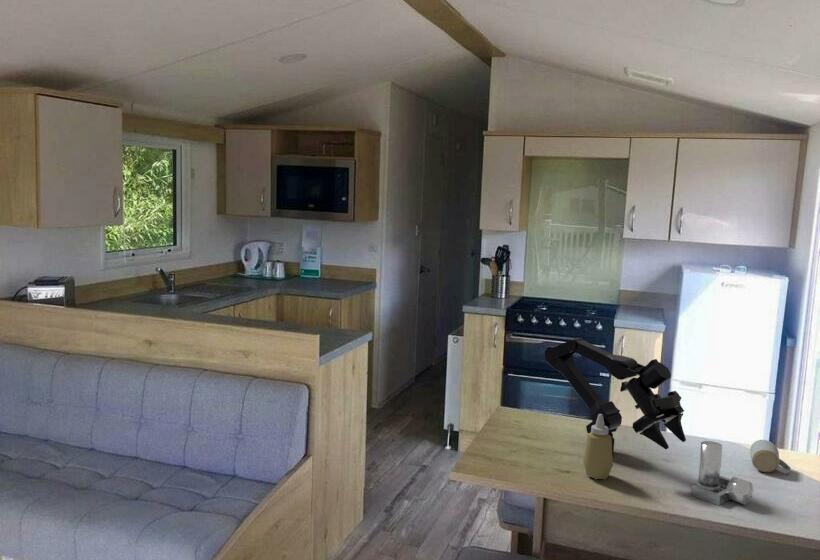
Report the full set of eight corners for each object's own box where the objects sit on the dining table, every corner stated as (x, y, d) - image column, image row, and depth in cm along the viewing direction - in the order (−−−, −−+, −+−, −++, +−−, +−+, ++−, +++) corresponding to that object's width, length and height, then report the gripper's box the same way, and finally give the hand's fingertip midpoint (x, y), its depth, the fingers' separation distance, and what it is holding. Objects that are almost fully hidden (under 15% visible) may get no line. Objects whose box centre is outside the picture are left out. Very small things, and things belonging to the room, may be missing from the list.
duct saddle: (690, 494, 180) (692, 473, 180) (714, 482, 189) (716, 462, 188) (734, 511, 172) (736, 488, 171) (757, 497, 180) (759, 476, 179)
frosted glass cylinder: (700, 494, 181) (704, 447, 179) (693, 485, 187) (696, 440, 185) (723, 495, 180) (727, 448, 179) (714, 486, 186) (718, 441, 185)
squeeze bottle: (596, 484, 186) (599, 421, 184) (576, 473, 193) (579, 412, 191) (618, 479, 190) (622, 417, 187) (597, 468, 197) (601, 408, 194)
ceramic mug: (750, 471, 197) (753, 446, 196) (748, 461, 205) (751, 437, 204) (791, 478, 193) (794, 453, 192) (788, 468, 200) (791, 443, 199)
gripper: (645, 388, 186) (679, 438, 179) (680, 377, 198) (714, 424, 191) (618, 407, 193) (650, 457, 186) (654, 396, 205) (685, 442, 198)
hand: (676, 444), depth 190 cm, fingers open, 9 cm apart
